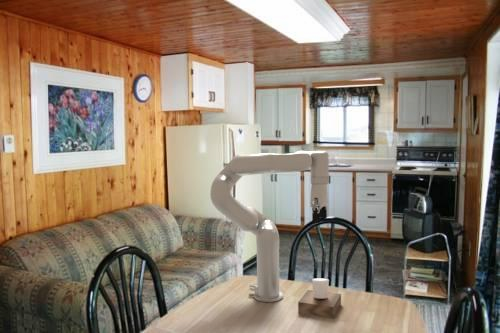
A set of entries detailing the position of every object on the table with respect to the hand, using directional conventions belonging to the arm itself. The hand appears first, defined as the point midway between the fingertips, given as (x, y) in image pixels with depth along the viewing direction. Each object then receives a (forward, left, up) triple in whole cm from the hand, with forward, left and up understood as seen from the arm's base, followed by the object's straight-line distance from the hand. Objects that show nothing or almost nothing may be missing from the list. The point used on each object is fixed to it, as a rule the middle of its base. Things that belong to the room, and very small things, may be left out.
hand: (319, 220), depth 191 cm
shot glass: (+4, -13, -29) cm, 32 cm away
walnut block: (+4, -13, -34) cm, 36 cm away
